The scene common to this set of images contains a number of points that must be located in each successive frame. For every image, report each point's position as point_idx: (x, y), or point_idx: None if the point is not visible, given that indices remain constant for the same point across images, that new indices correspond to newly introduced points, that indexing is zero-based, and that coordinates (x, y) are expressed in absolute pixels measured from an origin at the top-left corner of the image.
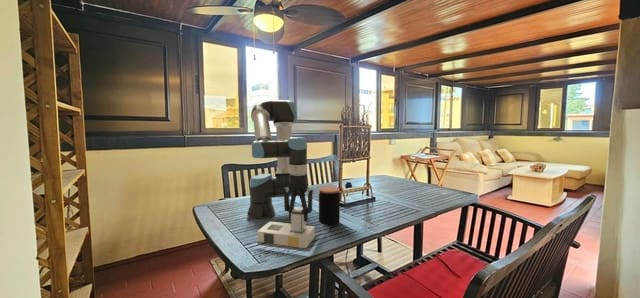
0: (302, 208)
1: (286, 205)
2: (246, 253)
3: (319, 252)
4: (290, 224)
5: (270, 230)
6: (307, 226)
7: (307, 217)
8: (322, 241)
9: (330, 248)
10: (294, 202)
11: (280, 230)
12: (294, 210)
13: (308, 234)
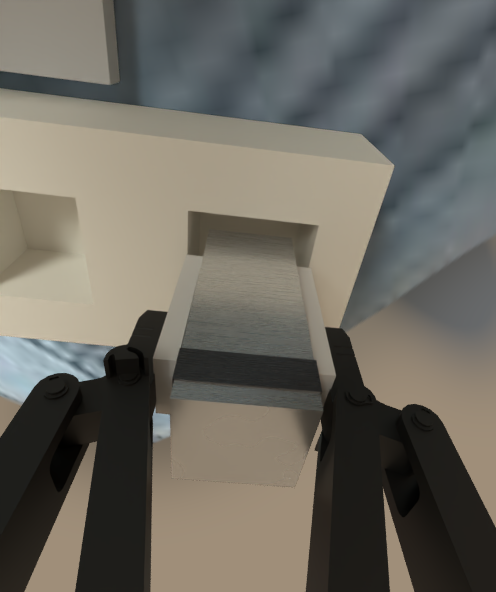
0: (297, 432)
1: (53, 502)
2: (32, 355)
3: (388, 302)
4: (119, 154)
5: (32, 307)
6: (313, 179)
7: (351, 363)
8: (420, 159)
9: (461, 252)
10: (146, 515)
11: (105, 297)
12: (204, 475)
13: (339, 325)
